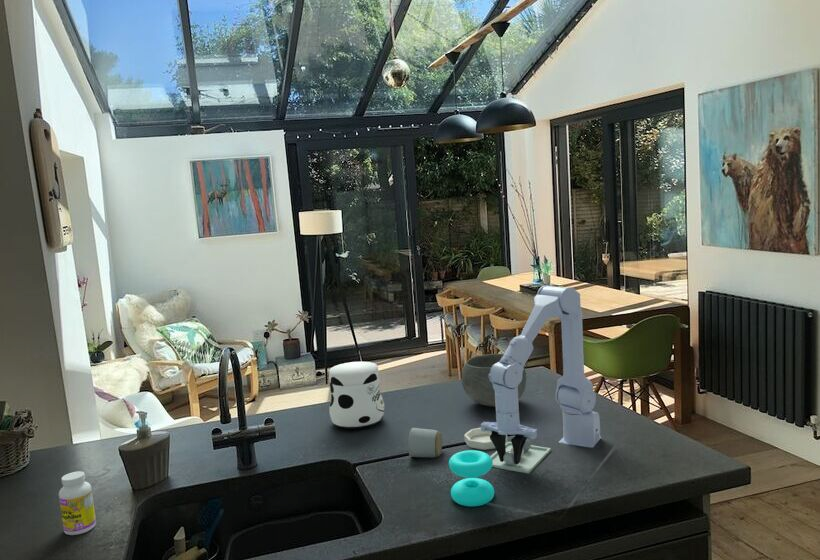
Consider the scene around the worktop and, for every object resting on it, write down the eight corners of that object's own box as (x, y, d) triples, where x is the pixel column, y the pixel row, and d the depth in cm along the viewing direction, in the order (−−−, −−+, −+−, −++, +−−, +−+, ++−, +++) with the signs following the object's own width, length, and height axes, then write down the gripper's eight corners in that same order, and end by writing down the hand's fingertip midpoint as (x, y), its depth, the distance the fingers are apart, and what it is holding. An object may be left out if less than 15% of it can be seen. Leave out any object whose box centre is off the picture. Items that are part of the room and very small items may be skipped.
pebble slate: (533, 449, 171) (532, 437, 170) (528, 454, 168) (527, 442, 167) (521, 447, 172) (520, 435, 172) (516, 452, 170) (515, 440, 169)
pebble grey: (519, 462, 163) (518, 450, 163) (513, 468, 160) (513, 455, 160) (506, 460, 165) (506, 448, 164) (501, 465, 162) (500, 453, 162)
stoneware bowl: (512, 438, 181) (512, 430, 180) (495, 453, 171) (495, 444, 171) (477, 433, 187) (476, 425, 186) (458, 447, 177) (458, 438, 177)
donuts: (439, 456, 148) (473, 444, 153) (442, 497, 149) (476, 484, 154) (466, 470, 139) (501, 457, 145) (469, 513, 141) (503, 499, 146)
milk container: (396, 422, 200) (391, 367, 198) (347, 437, 191) (342, 379, 189) (367, 410, 215) (363, 357, 212) (321, 423, 205) (316, 368, 203)
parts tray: (551, 452, 169) (550, 448, 169) (528, 475, 157) (528, 471, 157) (507, 445, 176) (507, 441, 176) (483, 467, 163) (482, 462, 163)
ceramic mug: (438, 462, 169) (436, 434, 168) (408, 461, 171) (406, 433, 170) (446, 447, 179) (444, 420, 178) (417, 446, 181) (415, 420, 180)
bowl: (533, 413, 200) (530, 366, 198) (465, 417, 200) (462, 371, 198) (522, 392, 221) (519, 350, 219) (461, 396, 221) (458, 354, 219)
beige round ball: (526, 456, 167) (525, 443, 166) (521, 461, 164) (520, 448, 164) (514, 454, 169) (513, 441, 168) (508, 459, 166) (508, 446, 165)
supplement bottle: (57, 536, 144) (49, 482, 142) (77, 521, 151) (69, 469, 149) (84, 536, 143) (76, 482, 141) (102, 521, 149) (95, 469, 148)
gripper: (474, 411, 161) (477, 462, 163) (528, 418, 153) (531, 472, 155) (486, 402, 167) (489, 452, 169) (539, 409, 159) (541, 461, 161)
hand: (510, 461), depth 162 cm, fingers closed on pebble grey, 3 cm apart
